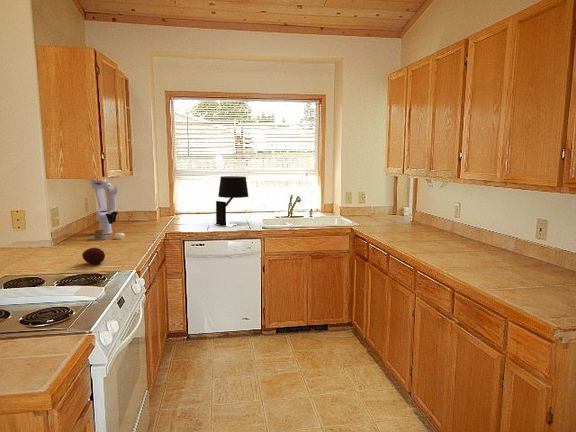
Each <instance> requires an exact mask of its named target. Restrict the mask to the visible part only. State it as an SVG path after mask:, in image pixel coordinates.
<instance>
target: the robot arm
mask: <svg viewBox="0 0 576 432" xmlns="http://www.w3.org/2000/svg"><path fill="white" fill-rule="evenodd" d="M89 180H90V185H91V187H92V188H93V189H94V193H95V196H96V201H97V204H98V209H97V211H96V213H95V214H96V220H97V221H98V222H99V230H103V235H110V234H113V232H114V231H113V230H112V225H113V223H115V222H116V221H117V220H116V219H117V216H118V213H119V212H118V211H119V210H118V209H117V204H116V202H117V201H116V195H117V192H118V191H117V187H116V186H115V185H112V184H111V183H110V181H108V180H107V178H106V179H105V180H104V181H96V180H93V179H90V178H89ZM103 190H104V192H103ZM104 194H105V197H106V200H105V197H104Z"/></svg>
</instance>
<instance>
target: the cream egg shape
mask: <svg viewBox="0 0 576 432" xmlns="http://www.w3.org/2000/svg"><path fill="white" fill-rule="evenodd" d="M114 239H115V240H124V239H125V233H123V232H117V233H114Z"/></svg>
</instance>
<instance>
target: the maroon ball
mask: <svg viewBox="0 0 576 432" xmlns="http://www.w3.org/2000/svg"><path fill="white" fill-rule="evenodd" d="M81 256H82V258H83V260H84V262H87V263H88V264H94V265H95V264H100V263H102V262H104V260H105V258H106V254H105V252H104V251H103V250H102V249H101V248H99V247H91V248H88V249H85V250H84V251H83V252H82V255H81Z"/></svg>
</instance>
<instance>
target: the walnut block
mask: <svg viewBox="0 0 576 432" xmlns="http://www.w3.org/2000/svg"><path fill="white" fill-rule="evenodd" d="M93 234H94V235H93V236H95V238H103V237H104V236H105V235H104V234H103V230H100V229H95V230H94V231H93Z"/></svg>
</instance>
